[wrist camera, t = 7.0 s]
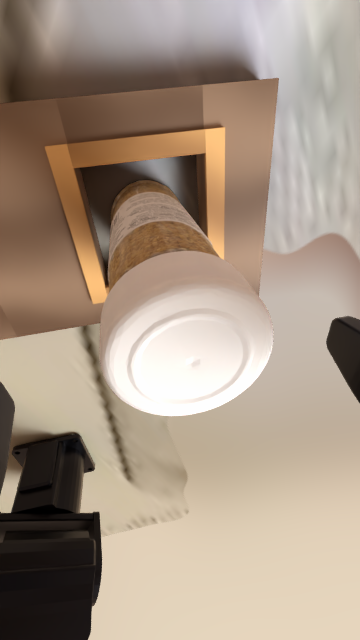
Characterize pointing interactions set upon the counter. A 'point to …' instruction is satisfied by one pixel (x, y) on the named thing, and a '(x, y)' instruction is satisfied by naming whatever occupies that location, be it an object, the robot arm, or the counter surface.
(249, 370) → the sprinkles bottle
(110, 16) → the counter surface
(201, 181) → the rail
